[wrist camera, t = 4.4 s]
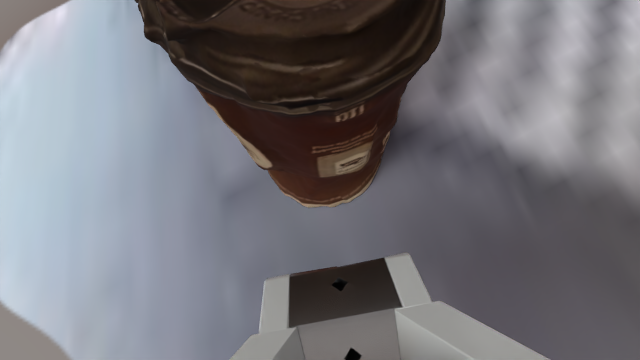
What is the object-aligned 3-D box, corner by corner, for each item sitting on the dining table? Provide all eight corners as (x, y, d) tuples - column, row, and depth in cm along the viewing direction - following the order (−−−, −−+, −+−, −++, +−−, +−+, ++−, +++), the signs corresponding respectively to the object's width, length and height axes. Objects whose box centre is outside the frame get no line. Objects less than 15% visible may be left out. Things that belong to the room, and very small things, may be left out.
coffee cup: (238, 234, 21) (72, 82, 8) (240, 94, 24) (120, -163, 12) (413, 220, 20) (499, 37, 8) (391, 79, 23) (430, -206, 11)
